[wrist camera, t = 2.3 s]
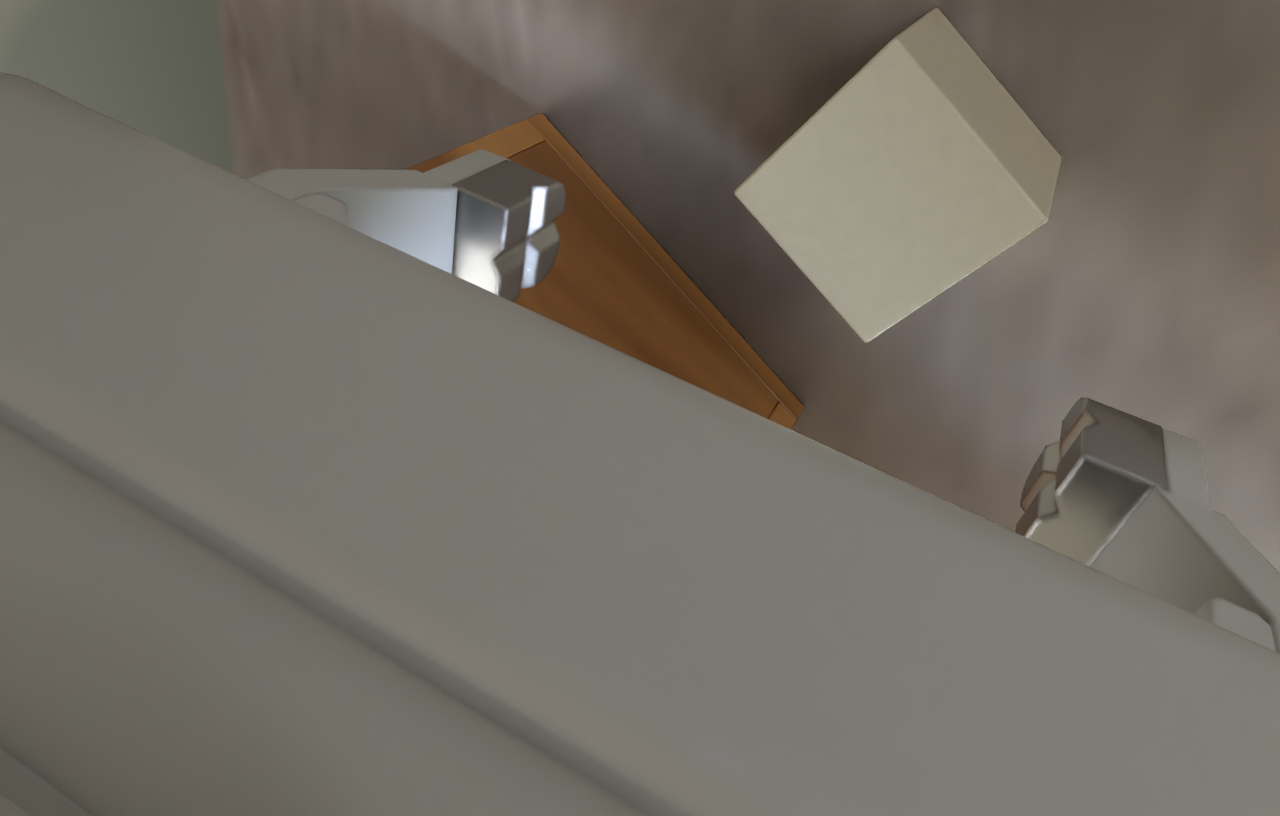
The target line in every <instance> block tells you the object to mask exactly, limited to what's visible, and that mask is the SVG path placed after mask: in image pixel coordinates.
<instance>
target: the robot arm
mask: <svg viewBox="0 0 1280 816" xmlns="http://www.w3.org/2000/svg"><path fill="white" fill-rule="evenodd" d="M566 195H567V193H566V190H565V187H564V184H563V183H561V182H558V181H556V180H554V179H551V178H549V177H547V176H545V175H542V174H540V173H538V172H535V171H533V170H531V169H528V168H526V167H524V166H521V165H519V164H517V163H514V162H512V161H510V160H509V159H507V158H504V157H502V156H499V155H496V154H494V153H491V152H488V151H485V150H483V149H479V150H477V151H474V152H472V153H469V154H467V155H465V156H462V157H460V158H457V159H455V160H453V161H450V162H448V163H445V164H443V165H441V166H438V167H436V168H433V169H431V170H429V171H426V172H424V173H421V172H419V171H417V170H383V169H270V170H267V171H264V172H261V173H258V174H255V175H253V176H250V177H247V178H244V179H243V178H241V177H239V176H237V175H234V174H232V173H230V172H228V171H226V170H224V169H221V168H219V167H217V166H215V165H213V164H210V163H208V162H206V161H204V160H202V159H199V158H197V157H195V156H193V155H191V154H189V153H186V152H184V151H182V150H180V149H178V148H175V147H173V146H171V145H169V144H167V143H164V142H162V141H160V140H158V139H156V138H154V137H151V136H149V135H147V134H145V133H143V132H140V131H138V130H136V129H134V128H132V127H130V126H127V125H125V124H123V123H121V122H118V121H116V120H114V119H112V118H110V117H108V116H106V115H103V114H101V113H99V112H97V111H95V110H93V109H90V108H88V107H86V106H84V105H82V104H79V103H77V102H75V101H73V100H71V99H69V98H67V97H65V96H63V95H61V94H59V93H57V92H55V91H53V90H51V89H49V88H47V87H45V86H43V85H40V84H38V83H36V82H33V81H31V80H29V79H26V78H23V77H20V76H17V75H12V74H7V73H1V72H0V816H1280V573H1279V572H1278V571H1277V570H1276V569H1275V568H1274V567H1273V566H1272V565H1271V564H1270V563H1269V561H1268V560H1267V559H1266V558H1265V557H1264V556H1263V555H1262V554H1261V553H1260V552H1259V551H1258V550H1257V549H1256V548H1255V547H1254V546H1253V545H1252V544H1251V543H1250V542H1249V541H1248V540H1247V539H1246V537H1245V536H1244V535H1243V534H1242V533H1241V532H1240V531H1239V530H1238V529H1237V528H1236V527H1235V526H1234V525H1233V524H1232V523H1231V522H1230V521H1229V520H1228V519H1227V518H1226V517H1225V516H1224V515H1222V514H1220V513H1218V512H1215V511H1213V510H1212V506H1211V499H1210V493H1209V487H1208V481H1207V474H1206V468H1205V462H1204V456H1203V449H1202V445H1201V444H1200V443H1199V442H1198V441H1196V440H1194V439H1191V438H1188V437H1185V436H1183V435H1180V434H1177V433H1174V432H1172V431H1169V430H1166V429H1163V428H1161V426H1159V425H1156V424H1154V423H1151V422H1148V421H1146V420H1143V419H1141V418H1138V417H1136V416H1133V415H1130V414H1128V413H1125V412H1123V411H1120V410H1117V409H1115V408H1112V407H1110V406H1107V405H1104V404H1102V403H1099V402H1097V401H1094V400H1091V399H1089V398H1080V399H1079V400H1078V401H1077V403H1076V404H1075V405H1074V406H1073V407H1072V408H1071V410H1070V411H1069V413H1068V414H1067V416H1066V417H1065V419H1064V420H1063V421H1062V428H1061V437H1060V441H1058V442H1056V443H1053V444H1050V445H1048V446H1046V447H1045V448H1044V450H1043V451H1042V453H1041V455H1040V456H1039V458H1038V459H1037V461H1036V463H1035V464H1034V466H1033V468H1032V470H1031V472H1030V474H1029V476H1028V478H1027V480H1026V482H1025V485H1024V488H1023V491H1022V495H1021V500H1020V506H1021V508H1022V509H1023V511H1024V512H1025V513H1024V514H1023V516H1022V517H1021V518H1020V520H1019V521H1018V523H1017V525H1016V532H1013V531H1011V530H1009V529H1006V528H1004V527H1002V526H1000V525H998V524H995V523H993V522H991V521H989V520H987V519H985V518H982V517H980V516H978V515H976V514H974V513H971V512H969V511H967V510H965V509H963V508H961V507H958V506H956V505H954V504H952V503H950V502H947V501H945V500H943V499H941V498H939V497H937V496H934V495H932V494H930V493H928V492H926V491H924V490H921V489H919V488H917V487H915V486H913V485H910V484H908V483H906V482H904V481H902V480H900V479H897V478H895V477H893V476H891V475H889V474H886V473H884V472H882V471H880V470H878V469H876V468H873V467H871V466H869V465H867V464H865V463H862V462H860V461H858V460H856V459H854V458H852V457H849V456H847V455H845V454H843V453H841V452H838V451H836V450H834V449H832V448H830V447H828V446H825V445H823V444H821V443H819V442H817V441H814V440H812V439H810V438H808V437H806V436H804V435H801V434H799V433H797V432H795V431H793V430H791V429H788V428H786V427H784V426H782V425H780V424H777V423H775V422H773V421H771V420H769V419H767V418H764V417H762V416H760V415H758V414H756V413H753V412H751V411H749V410H747V409H745V408H743V407H740V406H738V405H736V404H734V403H732V402H729V401H727V400H725V399H723V398H721V397H719V396H716V395H714V394H712V393H710V392H708V391H706V390H703V389H701V388H699V387H697V386H695V385H692V384H690V383H688V382H686V381H684V380H682V379H679V378H677V377H675V376H673V375H671V374H668V373H666V372H664V371H662V370H660V369H658V368H655V367H653V366H651V365H649V364H647V363H644V362H642V361H640V360H638V359H636V358H634V357H631V356H629V355H627V354H625V353H623V352H621V351H618V350H616V349H614V348H612V347H610V346H607V345H605V344H603V343H601V342H599V341H597V340H594V339H592V338H590V337H588V336H586V335H583V334H581V333H579V332H577V331H575V330H573V329H570V328H568V327H566V326H564V325H562V324H559V323H557V322H555V321H553V320H551V319H549V318H546V317H544V316H542V315H540V314H538V313H536V312H533V311H531V310H529V309H527V308H525V307H522V306H520V305H518V304H516V303H514V301H515V300H517V299H518V298H519V296H520V289H521V288H528V287H535V286H536V285H538V284H539V283H540V282H542V281H543V280H544V279H545V278H546V276H547V275H548V273H549V272H550V270H551V269H552V267H553V265H554V263H555V260H556V257H557V254H558V250H559V244H560V235H559V233H558V230H557V228H556V225H555V221H556V220H557V219H558V218H559V217H560V216H561V215H562V214H563V213H564V212H565V203H566Z"/></svg>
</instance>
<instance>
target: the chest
mask: <svg viewBox="0 0 1280 816" xmlns="http://www.w3.org/2000/svg"><path fill="white" fill-rule="evenodd" d="M479 149H483V150H485V151H488V152H491V153H494V154H496V155H499V156H502V157H504V158H507V159H509V160H510V161H512V162H514V163H517V164H519V165H521V166H524V167H526V168H528V169H531V170H533V171H535V172H538V173H540V174H542V175H545V176H547V177H549V178H551V179H554V180H556V181H558V182H561V183H563V184H564V187H565V190H566V193H567V195H566V203H565V212H564V213H563V214H562V215H561V216H560V217H559V218H558V219H557V220H556V221H555V225H556V228H557V230H558V233H559V235H560V244H559V250H558V254H557V257H556V260H555V263H554V265H553V267H552V269H551V270H550V272H549V273H548V275H547V276H546V278H545V279H544V280H543V281H542V282H540V283H539V284H538V285H536V286H535V287H528V288H521V289H520V296H519V298H518V299H517V300H515V301H514V303H516V304H518V305H520V306H522V307H525V308H527V309H529V310H531V311H533V312H536V313H538V314H540V315H542V316H544V317H546V318H549V319H551V320H553V321H555V322H557V323H559V324H562V325H564V326H566V327H568V328H570V329H573V330H575V331H577V332H579V333H581V334H583V335H586V336H588V337H590V338H592V339H594V340H597V341H599V342H601V343H603V344H605V345H607V346H610V347H612V348H614V349H616V350H618V351H621V352H623V353H625V354H627V355H629V356H631V357H634V358H636V359H638V360H640V361H642V362H644V363H647V364H649V365H651V366H653V367H655V368H658V369H660V370H662V371H664V372H666V373H668V374H671V375H673V376H675V377H677V378H679V379H682V380H684V381H686V382H688V383H690V384H692V385H695V386H697V387H699V388H701V389H703V390H706V391H708V392H710V393H712V394H714V395H716V396H719V397H721V398H723V399H725V400H727V401H729V402H732V403H734V404H736V405H738V406H740V407H743V408H745V409H747V410H749V411H751V412H753V413H756V414H758V415H760V416H762V417H764V418H767V419H769V420H771V421H773V422H775V423H777V424H780V425H782V426H784V427H786V428H788V429H792V427H793V426H794V424H795V422H796V421H797V419H798V418H799V416H800V414H801V413H802V411H803V409H804V406H803V405H802V404H801V403H800V402H799V401H798V399H797V398H796V397H795V396H794V395H793V394H792V393H791V392H790V390H789V389H788V388H787V387H786V386H785V385H784V384H783V383H782V382H781V380H780V379H779V378H778V377H777V376H776V375H775V374H774V373H773V371H772V370H771V369H770V368H769V367H768V366H767V365H766V364H765V362H764V361H763V360H762V359H761V358H760V357H759V356H758V355H757V354H756V352H755V351H754V350H753V349H752V348H751V347H750V346H749V345H748V343H747V342H746V341H745V340H744V339H743V338H742V337H741V336H740V334H739V333H738V332H737V331H736V330H735V329H734V328H733V327H732V326H731V324H730V323H729V322H728V321H727V320H726V319H725V318H724V317H723V315H722V314H721V313H720V312H719V311H718V310H717V309H716V308H715V306H714V305H713V304H712V303H711V302H710V301H709V300H708V299H707V298H706V296H705V295H704V294H703V293H702V292H701V291H700V290H699V289H698V287H697V286H696V285H695V284H694V283H693V282H692V281H691V280H690V278H689V277H688V276H687V275H686V274H685V273H684V272H683V271H682V269H681V268H680V267H679V266H678V265H677V264H676V263H675V262H674V261H673V259H672V258H671V257H670V256H669V255H668V254H667V253H666V252H665V250H664V249H663V248H662V247H661V246H660V245H659V244H658V243H657V241H656V240H655V239H654V238H653V237H652V236H651V235H650V234H649V233H648V231H647V230H646V229H645V228H644V227H643V226H642V225H641V224H640V222H639V221H638V220H637V219H636V218H635V217H634V216H633V215H632V213H631V212H630V211H629V210H628V209H627V208H626V207H625V206H624V205H623V203H622V202H621V201H620V200H619V199H618V198H617V197H616V196H615V194H614V193H613V192H612V191H611V190H610V189H609V188H608V187H607V185H606V184H605V183H604V182H603V181H602V180H601V179H600V178H599V177H598V175H597V174H596V173H595V172H594V171H593V170H592V169H591V168H590V166H589V165H588V164H587V163H586V162H585V161H584V160H583V159H582V157H581V156H580V155H579V154H578V153H577V152H576V151H575V150H574V149H573V147H572V146H571V145H570V144H569V143H568V142H567V141H566V140H565V138H564V137H563V136H562V135H561V134H560V133H559V132H558V131H557V129H556V128H555V127H554V126H553V125H552V124H551V123H550V122H549V121H548V119H547V118H546V117H545V116H544V115H543V114H542V113H540V114H537V115H535V116H532V117H530V118H528V119H525V120H523V121H520V122H518V123H515V124H513V125H511V126H508V127H506V128H503V129H501V130H499V131H496V132H494V133H492V134H489V135H487V136H484V137H482V138H480V139H477V140H475V141H472V142H470V143H468V144H465V145H463V146H461V147H458V148H456V149H453V150H451V151H449V152H446V153H444V154H441V155H439V156H437V157H434V158H432V159H429V160H427V161H425V162H422V163H420V164H418V165H415V166H413V167H410V168H408V169H406V170H417V171H419V172H421V173H424V172H426V171H429V170H431V169H433V168H436V167H438V166H441V165H443V164H445V163H448V162H450V161H453V160H455V159H457V158H460V157H462V156H465V155H467V154H469V153H472V152H474V151H477V150H479Z"/></svg>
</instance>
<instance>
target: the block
mask: <svg viewBox="0 0 1280 816" xmlns="http://www.w3.org/2000/svg"><path fill="white" fill-rule="evenodd" d="M1060 164H1061V156H1060V155H1059V153H1058V152H1057V151H1056V150H1055V149H1054V147H1053V146H1052V145H1051V144H1050V143H1049V141H1048V140H1047V139H1046V138H1045V137H1044V135H1043V134H1042V133H1041V132H1040V131H1039V129H1038V128H1037V127H1036V126H1035V124H1034V123H1033V122H1032V121H1031V120H1030V118H1029V117H1028V116H1027V115H1026V114H1025V112H1024V111H1023V110H1022V109H1021V108H1020V106H1019V105H1018V104H1017V103H1016V102H1015V100H1014V99H1013V98H1012V97H1011V95H1010V94H1009V93H1008V92H1007V91H1006V89H1005V88H1004V87H1003V86H1002V85H1001V83H1000V82H999V81H998V80H997V79H996V77H995V76H994V75H993V74H992V73H991V71H990V70H989V69H988V68H987V66H986V65H985V64H984V63H983V62H982V60H981V59H980V58H979V57H978V56H977V54H976V53H975V52H974V51H973V50H972V48H971V47H970V46H969V45H968V44H967V42H966V41H965V40H964V39H963V37H962V36H961V35H960V34H959V33H958V31H957V30H956V29H955V28H954V27H953V25H952V24H951V23H950V22H949V21H948V19H947V18H946V17H945V16H944V15H943V13H942V12H941V11H940V10H939V9H938V8H934V9H933V10H931V11H930V12H928V13H927V14H926V15H924V16H923V17H922V18H920V19H919V20H918V21H916V22H915V23H913V24H912V25H911V26H909V27H908V28H907V29H905V30H904V31H903V32H901V33H900V34H898V35H897V36H896V37H894V38H893V39H892V40H891V41H890V42H889V43H888V44H887V45H886V46H885V47H883V48H882V49H881V50H880V51H879V52H878V53H877V54H876V55H875V56H874V57H873V58H872V59H871V60H870V61H869V62H868V63H867V64H866V65H865V66H864V67H863V68H862V69H861V70H859V71H858V72H857V73H856V74H855V75H854V76H853V77H852V78H851V79H850V80H849V81H848V82H847V83H846V84H845V85H844V86H843V87H842V88H841V89H840V90H839V91H838V92H837V93H835V94H834V95H833V96H832V97H831V98H830V99H829V100H828V101H827V102H826V103H825V104H824V105H823V106H822V107H821V108H820V109H819V110H818V111H817V112H816V113H815V114H814V115H813V116H811V117H810V118H809V119H808V120H807V121H806V122H805V123H804V124H803V125H802V126H801V127H800V128H799V129H798V130H797V131H796V132H795V133H794V134H793V135H792V136H791V137H790V138H789V139H788V140H786V141H785V142H784V143H783V144H782V145H781V146H780V147H779V148H778V149H777V150H776V151H775V152H774V153H773V154H772V155H771V156H770V157H769V158H768V159H767V160H766V161H765V162H764V163H762V164H761V165H760V166H759V167H758V168H757V169H756V170H755V171H754V172H753V173H752V174H751V175H750V176H749V177H748V178H747V179H746V180H745V181H744V182H743V183H742V184H741V185H740V186H738V187H737V188H736V189H735V191H734V194H735V195H736V197H737V198H738V199H739V200H740V201H741V202H742V203H743V205H744V206H745V207H746V208H747V209H748V210H749V211H750V213H751V214H752V215H753V216H754V217H755V218H756V219H757V220H758V222H759V223H760V224H761V225H762V226H763V227H764V228H765V230H766V231H767V232H768V233H769V234H770V235H771V236H772V238H773V239H774V240H775V241H776V242H777V243H778V244H779V246H780V247H781V248H782V249H783V250H784V251H785V252H786V254H787V255H788V256H789V257H790V258H791V259H792V260H793V262H794V263H795V264H796V265H797V266H798V267H799V268H800V270H801V271H802V272H803V273H804V274H805V275H806V276H807V278H808V279H809V280H810V281H811V282H812V283H813V284H814V286H815V287H816V288H817V289H818V290H819V291H820V292H821V294H822V295H823V296H824V297H825V298H826V299H827V300H828V302H829V303H830V304H831V305H832V306H833V307H834V308H835V310H836V311H837V312H838V313H839V314H840V315H841V316H842V317H843V319H844V320H845V321H846V322H847V323H848V324H849V325H850V327H851V328H852V329H853V330H854V331H855V332H856V333H857V335H858V336H859V337H860V338H861V339H862V340H863V341H864V342H865V343H866V342H869V341H871V340H872V339H874V338H875V337H877V336H878V335H880V334H881V333H883V332H884V331H885V330H887V329H888V328H890V327H891V326H893V325H894V324H896V323H897V322H899V321H900V320H902V319H903V318H905V317H906V316H908V315H909V314H911V313H912V312H914V311H915V310H917V309H918V308H920V307H921V306H923V305H924V304H926V303H927V302H929V301H930V300H932V299H933V298H935V297H936V296H938V295H939V294H941V293H942V292H944V291H945V290H947V289H948V288H950V287H951V286H953V285H954V284H956V283H957V282H959V281H960V280H961V279H963V278H964V277H966V276H967V275H969V274H970V273H972V272H973V271H975V270H976V269H978V268H979V267H981V266H982V265H984V264H985V263H987V262H988V261H990V260H991V259H993V258H994V257H996V256H997V255H999V254H1000V253H1002V252H1003V251H1005V250H1006V249H1008V248H1009V247H1011V246H1012V245H1014V244H1015V243H1017V242H1018V241H1020V240H1021V239H1023V238H1024V237H1026V236H1027V235H1029V234H1030V233H1032V232H1033V231H1034V230H1036V229H1037V228H1039V227H1040V226H1042V225H1043V224H1045V223H1046V222H1047V221H1048V218H1049V214H1050V209H1051V205H1052V200H1053V196H1054V191H1055V187H1056V182H1057V177H1058V173H1059V168H1060Z"/></svg>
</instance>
